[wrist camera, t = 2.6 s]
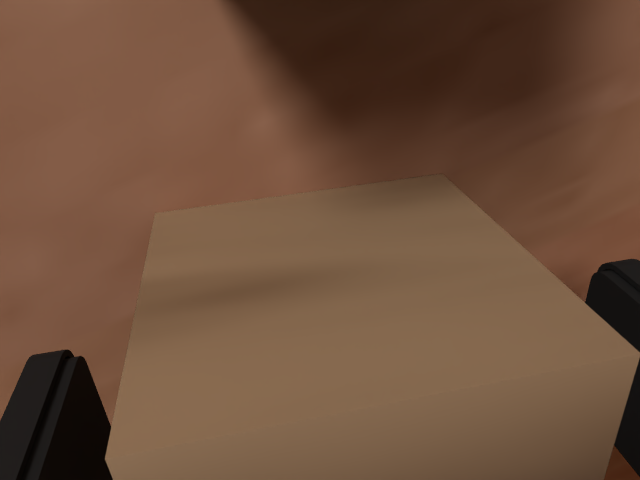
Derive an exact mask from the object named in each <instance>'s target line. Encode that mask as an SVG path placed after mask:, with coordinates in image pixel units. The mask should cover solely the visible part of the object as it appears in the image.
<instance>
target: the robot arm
mask: <svg viewBox="0 0 640 480" xmlns="http://www.w3.org/2000/svg"><path fill="white" fill-rule="evenodd" d="M585 303H586V304H587V305H588V306H589V307H590V308H591V309H592V310H593V311H594V312H596V313H597V314H598V315H599V316H600V317H601V318H602V319H603V320H604V321H606V322H607V323H608V324H609V325H610V326H611V327H612V328H613V329H614V330H615V331H617V332H618V333H619V334H620V335H621V336H622V337H623V338H624V339H625V340H627V341H628V342H629V343H630V344H631V345H632V346H633V347H634V348H635V349H636V350H638V351H639V352H640V261H639V260H637V259H628V260H622V261H616V262H609V263H605V264H602V265H601V266H600V267H599V269H598V271H597V273H594V274H593V276H592V278H591V281H590V285H589V289H588V293H587V298H586V302H585ZM110 431H111V426H110V423H109V420H108V418H107V415H106V412H105V410H104V407H103V405H102V402H101V399H100V397H99V394H98V392H97V389H96V386H95V384H94V381H93V378H92V376H91V373H90V371H89V368H88V365H87V363H86V361H85V359H84V358H83V357H82V356H78V357H74V355H73V354H72V352H71V351H70V350H61V351H55V352H48V353H42V354H36V355H32V356H31V357H29V359H28V360H27V362H26V364H25V367H24V369H23V371H22V373H21V376H20V378H19V380H18V382H17V385H16V387H15V389H14V391H13V394H12V396H11V398H10V400H9V403H8V405H7V407H6V410H5V412H4V414H3V416H2V419H1V421H0V480H113V478H112V476H111V473H110V471H109V468H108V466H107V463H106V460H105V456H106V451H107V446H108V441H109V436H110ZM614 445H615V447H616V448H617V449H618V450H619V452H620V453H621V454H622V455H623V457H624V458H625V459H626V460H627V462H628V463H629V464H630V465H631V467H632V468H633V469H634V470H635V472H636V473H637V474H638V475H639V477H640V358H639V362H638V365H637V368H636V372H635V375H634V379H633V382H632V385H631V389H630V392H629V395H628V399H627V402H626V406H625V409H624V412H623V416H622V419H621V423H620V426H619V429H618V433H617V436H616V440H615V443H614Z"/></svg>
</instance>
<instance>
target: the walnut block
mask: <svg viewBox="0 0 640 480" xmlns="http://www.w3.org/2000/svg"><path fill="white" fill-rule="evenodd" d="M639 358H640V352H639V351H638V350H636V349H635V348H634V347H633V346H632V345H631V344H630V343H629V342H628V341H627V340H625V339H624V338H623V337H622V336H621V335H620V334H619V333H618V332H617V331H615V330H614V329H613V328H612V327H611V326H610V325H609V324H608V323H607V322H606V321H604V320H603V319H602V318H601V317H600V316H599V315H598V314H597V313H596V312H594V311H593V310H592V309H591V308H590V307H589V306H588V305H587V304H586V303H585V302H583V301H582V300H581V299H580V298H579V297H578V296H577V295H576V294H575V293H573V292H572V291H571V290H570V289H569V288H568V287H567V286H566V285H565V284H563V283H562V282H561V281H560V280H559V279H558V278H557V277H556V276H555V275H554V274H552V273H551V272H550V271H549V270H548V269H547V268H546V267H545V266H544V265H542V264H541V263H540V262H539V261H538V260H537V259H536V258H535V257H534V256H533V255H531V254H530V253H529V252H528V251H527V250H526V249H525V248H524V247H523V246H521V245H520V244H519V243H518V242H517V241H516V240H515V239H514V238H513V237H512V236H510V235H509V234H508V233H507V232H506V231H505V230H504V229H503V228H502V227H500V226H499V225H498V224H497V223H496V222H495V221H494V220H493V219H492V218H491V217H489V216H488V215H487V214H486V213H485V212H484V211H483V210H482V209H481V208H479V207H478V206H477V205H476V204H475V203H474V202H473V201H472V200H471V199H470V198H468V197H467V196H466V195H465V194H464V193H463V192H462V191H461V190H460V189H458V188H457V187H456V186H455V185H454V184H453V183H452V182H451V181H450V180H449V179H447V178H446V177H445V176H444V175H443V174H436V175H428V176H421V177H414V178H407V179H399V180H392V181H385V182H378V183H370V184H363V185H356V186H349V187H341V188H334V189H327V190H320V191H312V192H305V193H298V194H291V195H283V196H276V197H269V198H262V199H254V200H247V201H240V202H233V203H225V204H218V205H211V206H204V207H196V208H189V209H182V210H175V211H167V212H160V213H155V216H154V221H153V226H152V231H151V236H150V241H149V246H148V251H147V255H146V260H145V265H144V270H143V275H142V280H141V285H140V290H139V295H138V299H137V304H136V309H135V314H134V319H133V324H132V329H131V334H130V339H129V343H128V348H127V353H126V358H125V363H124V368H123V373H122V378H121V383H120V387H119V392H118V397H117V402H116V407H115V412H114V417H113V422H112V426H111V431H110V436H109V441H108V446H107V451H106V456H105V460H106V463H107V466H108V468H109V471H110V473H111V476H112V478H113V480H604V477H605V474H606V470H607V467H608V463H609V460H610V457H611V453H612V450H613V446H614V443H615V440H616V436H617V433H618V429H619V426H620V423H621V419H622V416H623V412H624V409H625V406H626V402H627V399H628V395H629V392H630V389H631V385H632V382H633V379H634V375H635V372H636V368H637V365H638V362H639Z"/></svg>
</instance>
